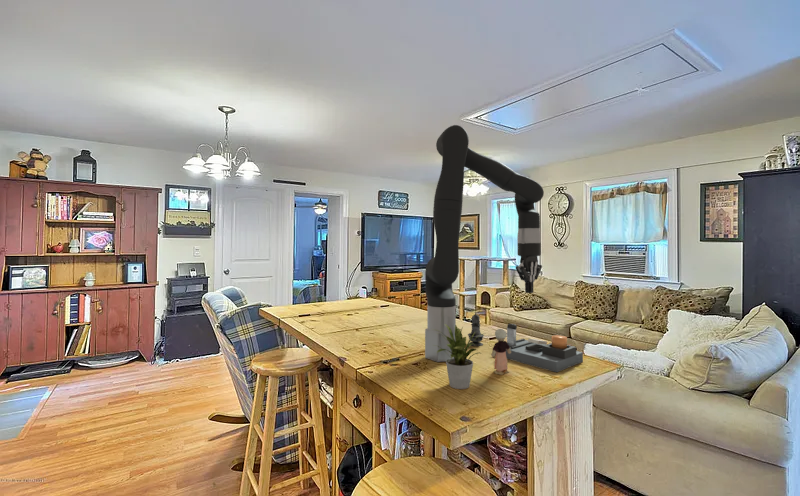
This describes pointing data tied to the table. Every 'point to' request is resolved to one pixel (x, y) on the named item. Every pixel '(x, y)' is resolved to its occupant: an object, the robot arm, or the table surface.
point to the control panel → (544, 355)
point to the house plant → (459, 359)
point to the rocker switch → (537, 341)
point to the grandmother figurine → (500, 352)
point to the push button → (559, 341)
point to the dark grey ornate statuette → (476, 328)
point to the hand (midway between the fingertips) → (529, 292)
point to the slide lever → (511, 334)
